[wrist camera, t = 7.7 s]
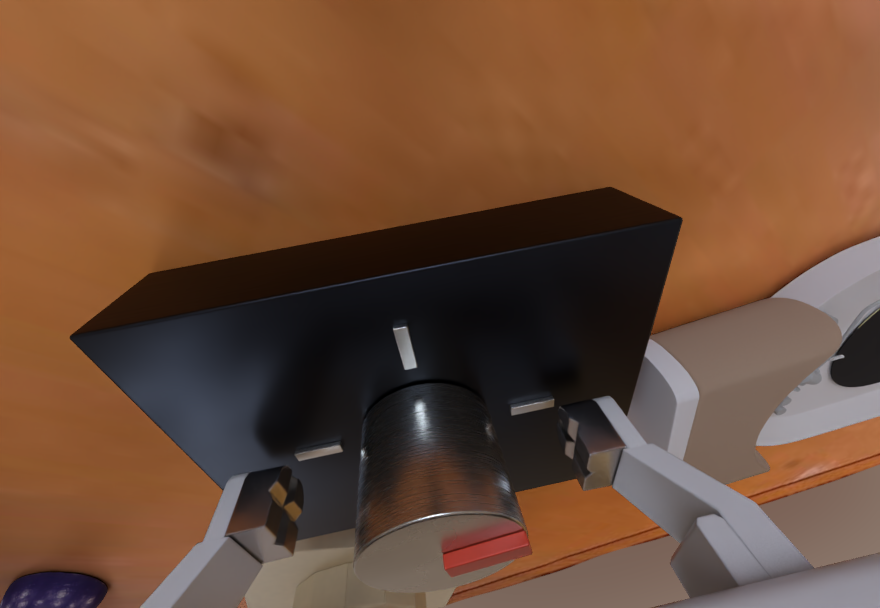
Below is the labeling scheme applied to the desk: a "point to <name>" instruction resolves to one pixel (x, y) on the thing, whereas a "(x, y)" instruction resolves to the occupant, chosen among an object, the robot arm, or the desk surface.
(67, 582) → the toy lamp
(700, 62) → the desk surface
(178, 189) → the desk surface
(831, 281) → the record player
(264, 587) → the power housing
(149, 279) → the control panel
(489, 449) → the dial
